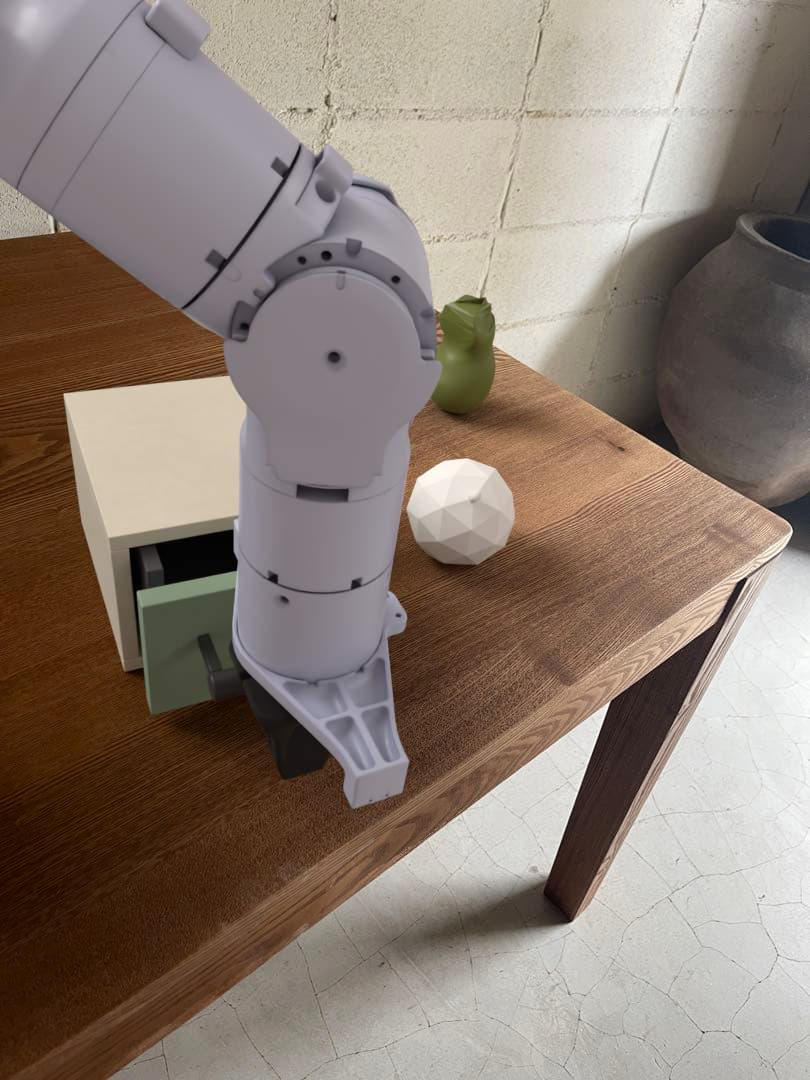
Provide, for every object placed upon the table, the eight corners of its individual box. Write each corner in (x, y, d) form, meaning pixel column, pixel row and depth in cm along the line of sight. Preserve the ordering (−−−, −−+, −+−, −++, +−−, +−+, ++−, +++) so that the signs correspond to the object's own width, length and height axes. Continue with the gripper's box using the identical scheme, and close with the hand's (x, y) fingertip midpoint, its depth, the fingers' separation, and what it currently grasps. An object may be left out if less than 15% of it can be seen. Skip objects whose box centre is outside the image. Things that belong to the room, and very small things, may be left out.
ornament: (519, 538, 62) (554, 510, 54) (436, 594, 60) (460, 574, 52) (463, 458, 62) (490, 419, 54) (379, 511, 60) (394, 479, 53)
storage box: (323, 625, 53) (335, 498, 46) (124, 672, 48) (108, 537, 42) (254, 493, 62) (256, 372, 55) (81, 522, 57) (63, 393, 51)
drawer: (367, 718, 46) (384, 614, 41) (169, 776, 42) (161, 668, 37) (270, 530, 57) (274, 430, 52) (105, 561, 53) (92, 455, 48)
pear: (497, 414, 74) (522, 306, 68) (454, 431, 71) (476, 320, 65) (452, 385, 77) (472, 279, 71) (409, 401, 74) (426, 291, 68)
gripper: (509, 655, 28) (444, 870, 37) (344, 421, 38) (323, 635, 46) (307, 711, 25) (287, 929, 34) (184, 443, 35) (193, 666, 44)
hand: (298, 762), depth 40 cm, fingers closed
